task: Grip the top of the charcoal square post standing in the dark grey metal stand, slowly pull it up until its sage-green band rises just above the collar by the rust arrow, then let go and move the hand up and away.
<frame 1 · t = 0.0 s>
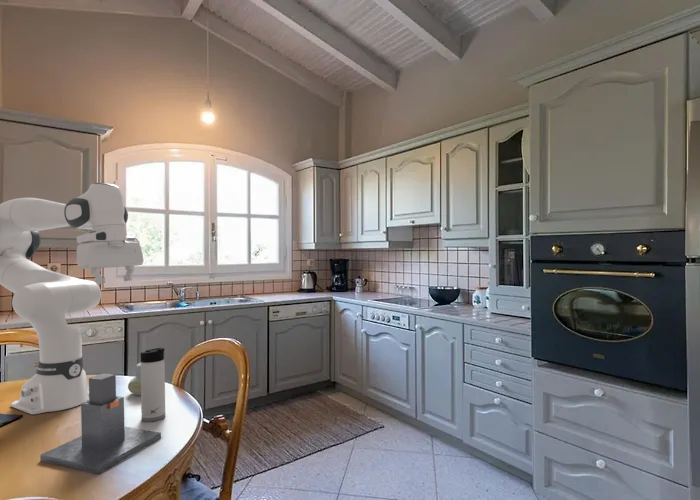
hand: (114, 282, 127), 39 cm above the table, tool pointing down, fingers open, 8 cm apart
air freshener: (146, 393, 144), on the table
post: (103, 409, 104), point 10 cm above the table, slide at 0.0 cm
travel mug: (154, 418, 123), on the table
stand: (103, 449, 104), on the table
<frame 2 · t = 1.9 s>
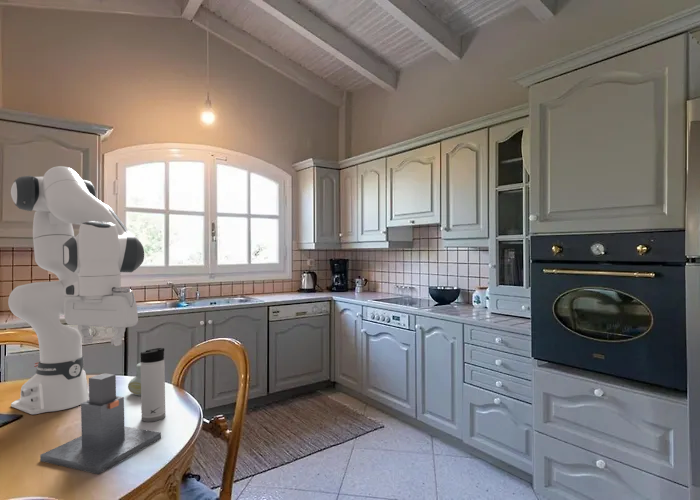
hand: (101, 344, 103), 26 cm above the table, tool pointing down, fingers open, 8 cm apart
nothing on the table moved.
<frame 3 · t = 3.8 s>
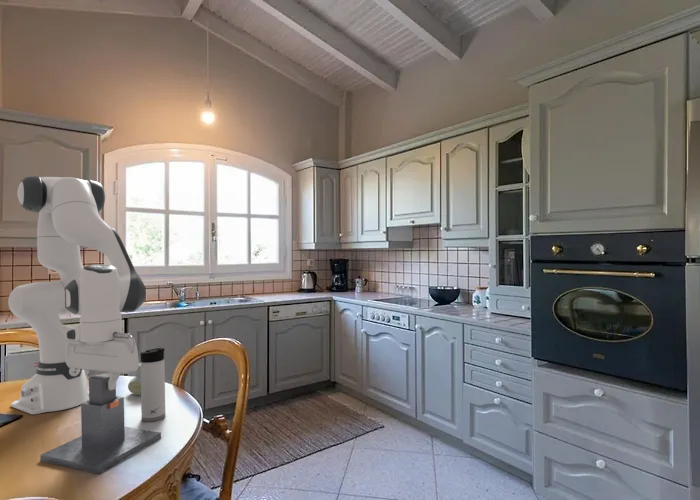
hand: (102, 388, 104), 15 cm above the table, tool pointing down, fingers closed on post, 4 cm apart
post: (103, 409, 104), point 10 cm above the table, slide at 0.0 cm, touching gripper
everything else where it was.
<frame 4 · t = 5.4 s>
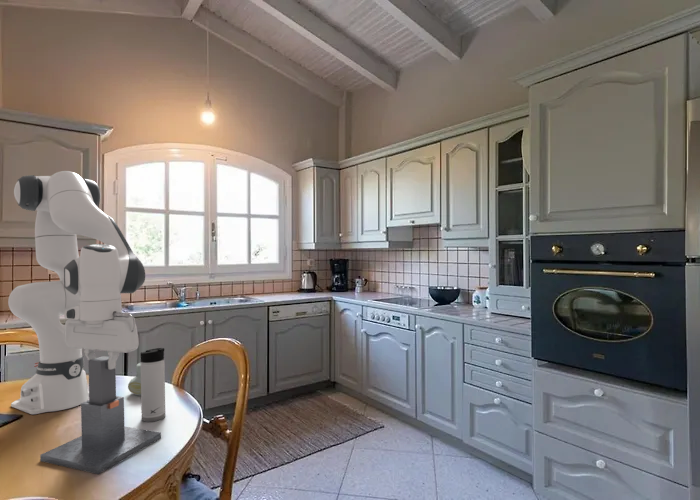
hand: (102, 367, 104), 20 cm above the table, tool pointing down, fingers closed on post, 4 cm apart
post: (102, 391, 104), point 14 cm above the table, slide at 4.3 cm, touching gripper
everything else where it was.
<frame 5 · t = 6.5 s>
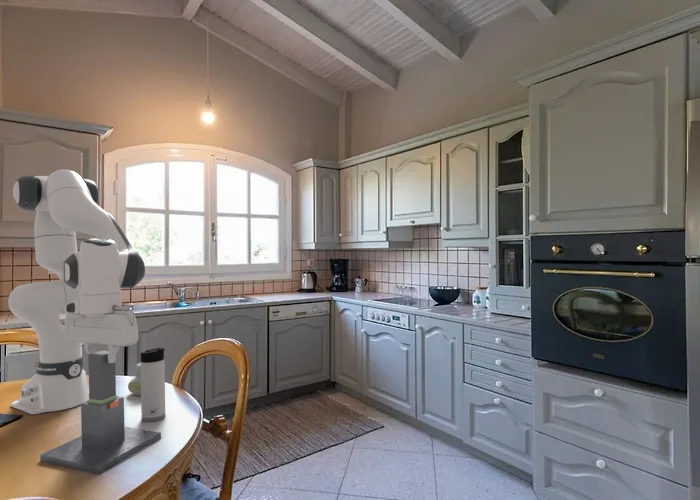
hand: (102, 361, 104), 21 cm above the table, tool pointing down, fingers closed on post, 4 cm apart
post: (102, 385, 104), point 16 cm above the table, slide at 5.7 cm, touching gripper
everything else where it was.
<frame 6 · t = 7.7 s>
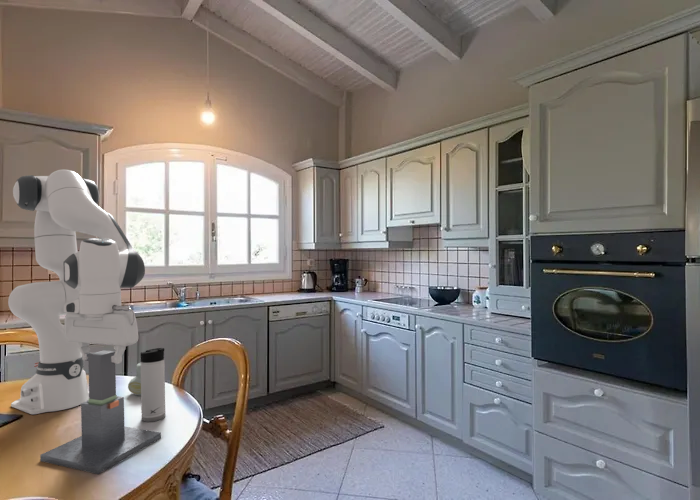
hand: (102, 361, 104), 21 cm above the table, tool pointing down, fingers open, 8 cm apart
post: (102, 385, 104), point 16 cm above the table, slide at 5.7 cm
everything else where it was.
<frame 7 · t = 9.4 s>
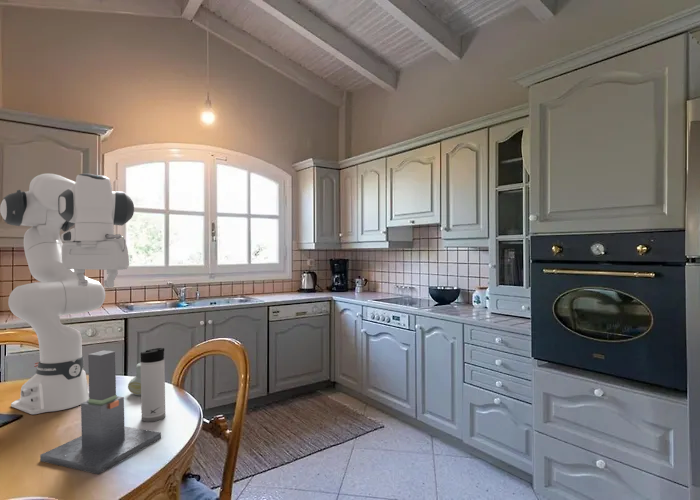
hand: (95, 286, 113), 39 cm above the table, tool pointing down, fingers open, 8 cm apart
nothing on the table moved.
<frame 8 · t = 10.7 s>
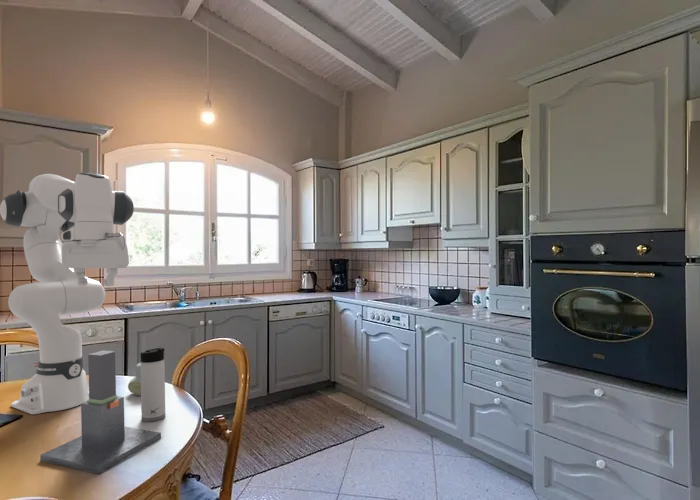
hand: (95, 285, 113), 39 cm above the table, tool pointing down, fingers open, 8 cm apart
nothing on the table moved.
at the end: post slide at 5.7 cm; the gripper is holding nothing; travel mug moved 0.2 cm from its start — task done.
